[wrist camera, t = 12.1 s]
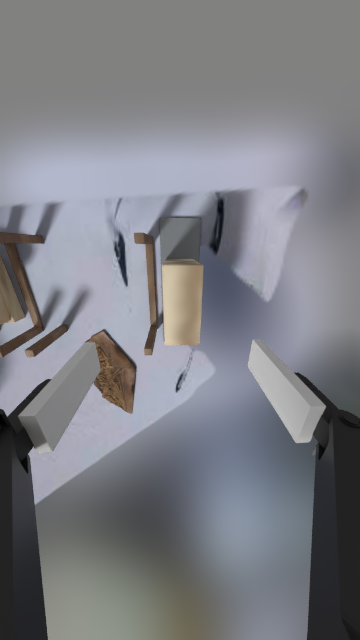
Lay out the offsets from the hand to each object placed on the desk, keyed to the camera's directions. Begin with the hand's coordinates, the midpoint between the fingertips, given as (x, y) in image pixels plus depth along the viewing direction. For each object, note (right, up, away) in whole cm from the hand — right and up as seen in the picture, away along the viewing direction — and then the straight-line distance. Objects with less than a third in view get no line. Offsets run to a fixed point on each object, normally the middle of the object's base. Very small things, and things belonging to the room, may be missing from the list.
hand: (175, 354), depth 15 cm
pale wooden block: (0, +9, +19) cm, 21 cm away
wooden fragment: (-15, -11, +28) cm, 34 cm away
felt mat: (0, +9, +19) cm, 22 cm away
